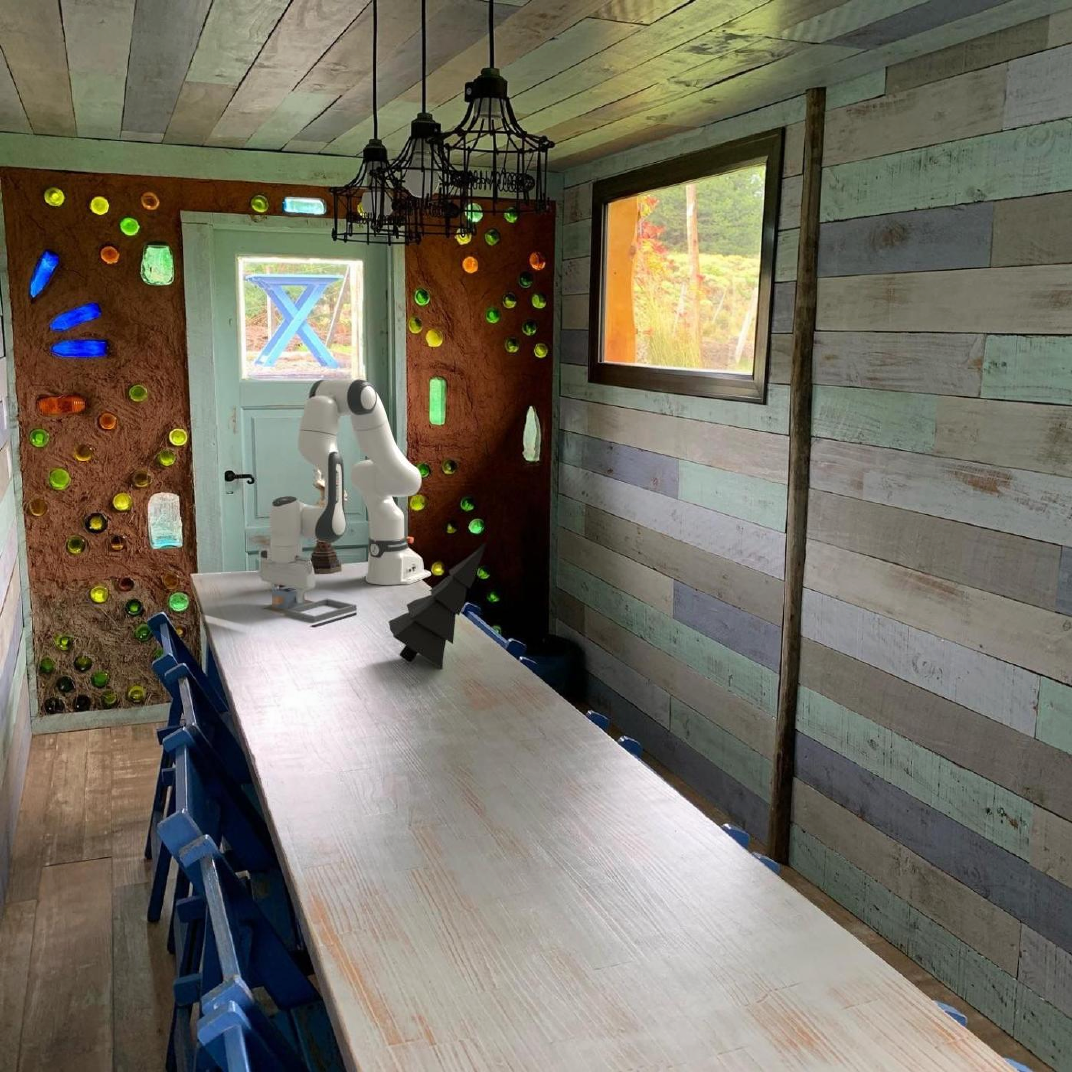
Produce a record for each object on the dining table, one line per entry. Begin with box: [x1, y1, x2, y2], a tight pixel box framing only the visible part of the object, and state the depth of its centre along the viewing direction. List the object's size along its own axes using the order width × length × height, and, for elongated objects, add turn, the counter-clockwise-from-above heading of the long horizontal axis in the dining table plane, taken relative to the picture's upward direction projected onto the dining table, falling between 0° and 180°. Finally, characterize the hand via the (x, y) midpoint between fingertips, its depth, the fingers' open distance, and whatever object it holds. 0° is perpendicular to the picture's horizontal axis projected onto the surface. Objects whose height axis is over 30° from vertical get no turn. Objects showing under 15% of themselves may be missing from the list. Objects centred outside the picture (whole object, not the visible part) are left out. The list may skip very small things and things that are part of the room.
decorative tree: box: [388, 542, 487, 670], centre depth 268 cm, size 15×15×35 cm
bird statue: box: [309, 468, 349, 575], centre depth 363 cm, size 17×13×35 cm
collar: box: [271, 586, 306, 610], centre depth 312 cm, size 8×6×5 cm
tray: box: [284, 598, 358, 628], centre depth 307 cm, size 16×12×3 cm
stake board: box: [262, 589, 314, 615], centre depth 314 cm, size 14×10×6 cm
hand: (288, 600), depth 313 cm, fingers open, 7 cm apart
